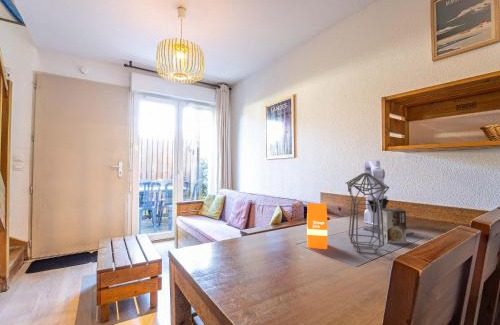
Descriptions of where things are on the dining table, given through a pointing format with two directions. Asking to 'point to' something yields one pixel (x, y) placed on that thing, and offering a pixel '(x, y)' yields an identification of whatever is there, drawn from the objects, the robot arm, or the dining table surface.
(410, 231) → the stand base
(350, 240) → the geometric lantern
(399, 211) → the coffee box
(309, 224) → the orange juice
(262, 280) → the dining table surface
